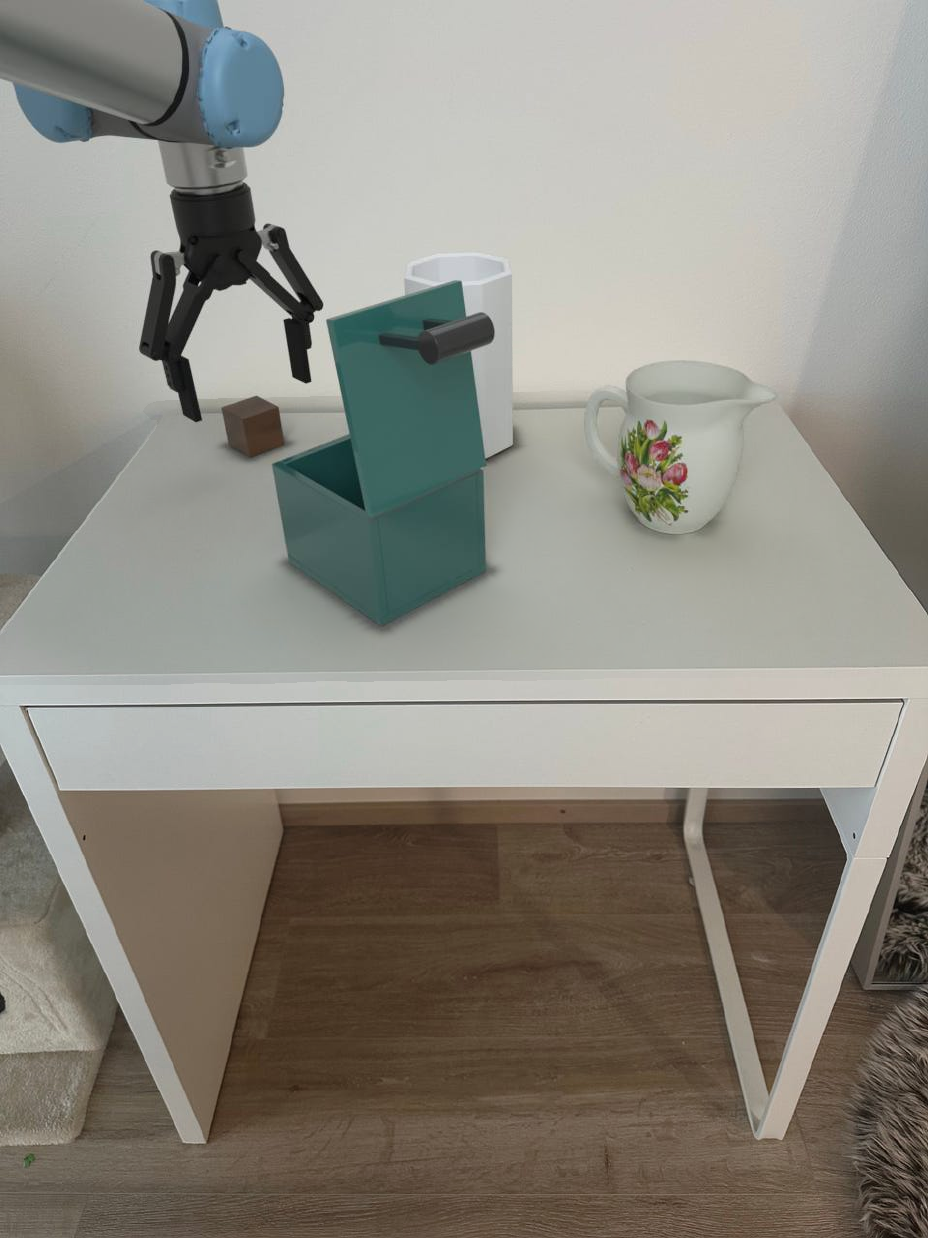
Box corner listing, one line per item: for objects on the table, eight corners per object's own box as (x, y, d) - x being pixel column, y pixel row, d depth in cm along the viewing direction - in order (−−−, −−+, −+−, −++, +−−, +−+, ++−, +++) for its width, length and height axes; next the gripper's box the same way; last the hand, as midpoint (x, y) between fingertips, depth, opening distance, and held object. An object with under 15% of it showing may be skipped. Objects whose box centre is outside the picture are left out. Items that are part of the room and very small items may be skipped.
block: (228, 445, 104) (220, 407, 101) (263, 432, 106) (256, 395, 104) (249, 458, 101) (242, 419, 98) (285, 444, 103) (278, 406, 101)
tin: (288, 562, 84) (271, 463, 78) (390, 515, 90) (381, 420, 84) (381, 626, 76) (369, 521, 70) (486, 570, 82) (483, 469, 76)
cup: (489, 411, 109) (485, 245, 98) (532, 449, 100) (534, 272, 89) (399, 430, 105) (385, 261, 94) (436, 471, 97) (425, 291, 86)
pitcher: (612, 465, 97) (620, 334, 88) (778, 516, 87) (804, 375, 79) (551, 508, 90) (554, 371, 82) (723, 569, 80) (746, 420, 72)
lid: (325, 319, 63) (392, 327, 57) (454, 279, 69) (526, 284, 64) (365, 515, 70) (428, 539, 65) (480, 463, 76) (546, 481, 71)
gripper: (100, 218, 79) (159, 446, 92) (340, 167, 92) (362, 373, 105) (64, 204, 84) (125, 424, 96) (297, 157, 97) (324, 356, 109)
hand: (249, 398), depth 101 cm, fingers open, 13 cm apart
